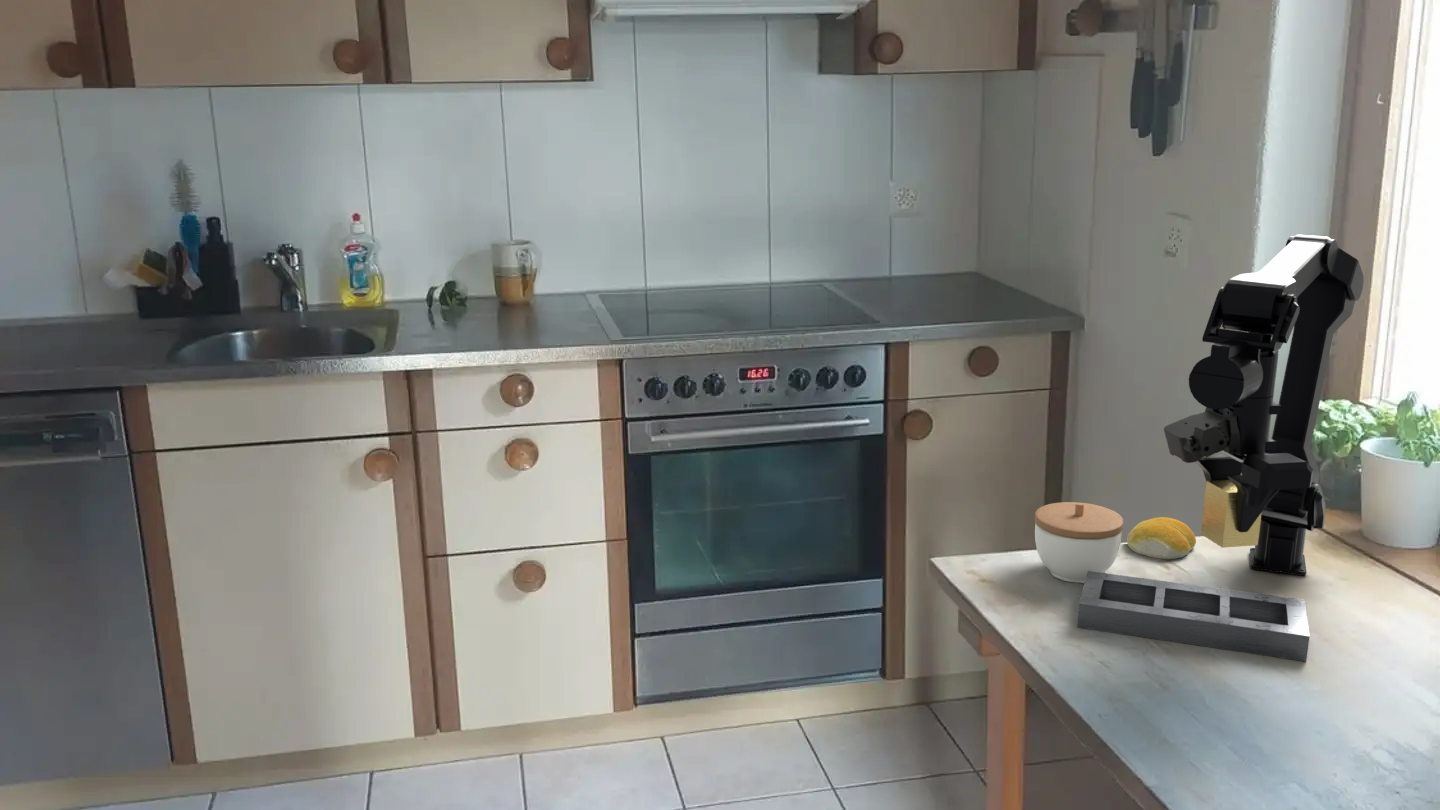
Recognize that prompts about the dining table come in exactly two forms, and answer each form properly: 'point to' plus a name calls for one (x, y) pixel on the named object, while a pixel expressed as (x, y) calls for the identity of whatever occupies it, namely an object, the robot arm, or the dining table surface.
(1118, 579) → the grey slotted tray
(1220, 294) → the robot arm
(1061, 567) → the lidded jar
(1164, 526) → the bread roll
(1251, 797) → the dining table surface
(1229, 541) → the brass block
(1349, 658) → the dining table surface
